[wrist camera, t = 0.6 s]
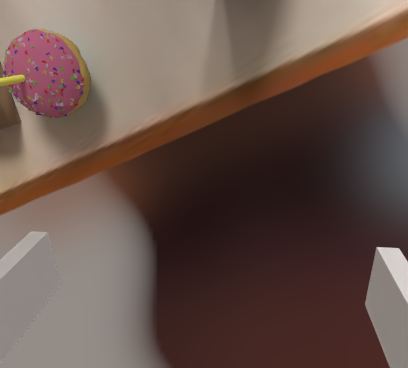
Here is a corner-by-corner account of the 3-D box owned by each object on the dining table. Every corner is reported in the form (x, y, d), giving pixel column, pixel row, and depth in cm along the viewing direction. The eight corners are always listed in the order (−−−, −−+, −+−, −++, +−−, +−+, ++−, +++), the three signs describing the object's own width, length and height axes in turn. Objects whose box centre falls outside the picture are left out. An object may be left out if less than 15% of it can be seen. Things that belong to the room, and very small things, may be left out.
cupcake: (43, 109, 41) (-33, 137, 30) (23, 32, 38) (-70, 32, 27) (111, 106, 40) (57, 134, 29) (97, 25, 37) (30, 24, 26)
